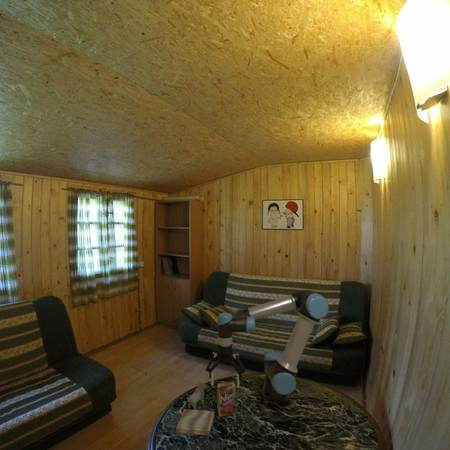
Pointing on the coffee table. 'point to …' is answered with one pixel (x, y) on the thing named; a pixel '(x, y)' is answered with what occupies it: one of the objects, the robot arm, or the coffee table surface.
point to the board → (195, 422)
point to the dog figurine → (197, 395)
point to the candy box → (226, 398)
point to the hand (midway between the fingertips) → (225, 385)
